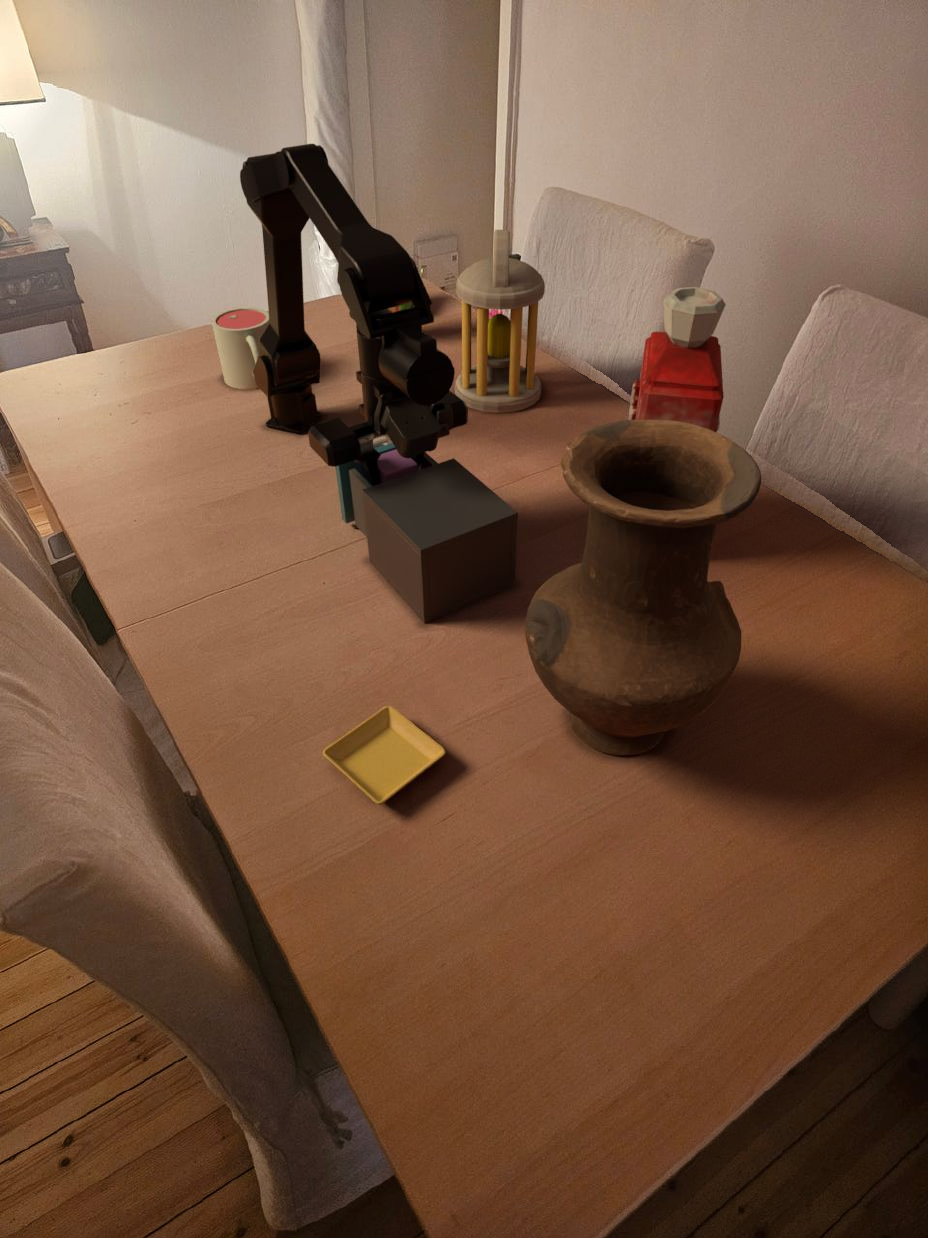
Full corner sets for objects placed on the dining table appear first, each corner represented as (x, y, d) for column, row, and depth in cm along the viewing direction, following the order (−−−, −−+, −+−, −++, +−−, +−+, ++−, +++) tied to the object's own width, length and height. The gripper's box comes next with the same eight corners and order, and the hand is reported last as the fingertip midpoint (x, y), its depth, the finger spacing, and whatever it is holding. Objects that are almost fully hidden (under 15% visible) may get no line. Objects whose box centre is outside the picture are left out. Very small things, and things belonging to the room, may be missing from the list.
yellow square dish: (322, 764, 79) (319, 751, 78) (390, 716, 84) (388, 702, 82) (380, 819, 75) (378, 805, 73) (448, 765, 79) (448, 751, 78)
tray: (328, 504, 110) (320, 446, 104) (402, 478, 114) (399, 421, 108) (387, 570, 100) (382, 510, 94) (466, 539, 104) (466, 480, 98)
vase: (717, 670, 88) (790, 419, 68) (706, 819, 74) (794, 561, 54) (541, 637, 92) (561, 391, 72) (500, 773, 78) (510, 516, 58)
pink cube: (388, 506, 101) (385, 475, 98) (370, 488, 104) (367, 458, 101) (419, 494, 103) (417, 463, 100) (401, 478, 106) (399, 447, 103)
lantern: (456, 371, 140) (454, 214, 123) (539, 372, 140) (549, 215, 123) (452, 412, 130) (449, 247, 113) (542, 413, 129) (553, 248, 112)
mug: (218, 370, 141) (206, 313, 134) (271, 360, 144) (261, 303, 137) (237, 405, 132) (225, 345, 125) (293, 393, 135) (284, 334, 128)
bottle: (692, 564, 101) (748, 327, 81) (609, 554, 103) (643, 319, 83) (692, 499, 112) (742, 274, 91) (616, 490, 113) (649, 268, 93)
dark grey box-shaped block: (369, 561, 102) (361, 489, 95) (455, 528, 107) (453, 457, 100) (424, 623, 94) (420, 550, 87) (514, 585, 99) (518, 512, 92)
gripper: (342, 420, 83) (357, 543, 94) (494, 374, 91) (492, 492, 101) (297, 378, 90) (315, 496, 101) (442, 338, 98) (445, 452, 108)
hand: (394, 485), depth 103 cm, fingers closed on pink cube, 4 cm apart
